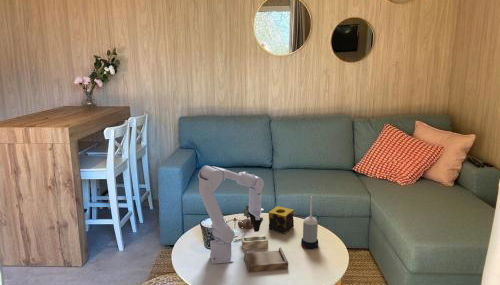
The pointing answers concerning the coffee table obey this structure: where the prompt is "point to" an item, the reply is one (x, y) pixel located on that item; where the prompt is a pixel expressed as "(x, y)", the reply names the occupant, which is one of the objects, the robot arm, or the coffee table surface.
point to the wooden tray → (266, 261)
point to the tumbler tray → (254, 242)
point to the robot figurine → (246, 220)
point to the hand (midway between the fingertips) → (255, 227)
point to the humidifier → (310, 231)
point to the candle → (281, 219)
